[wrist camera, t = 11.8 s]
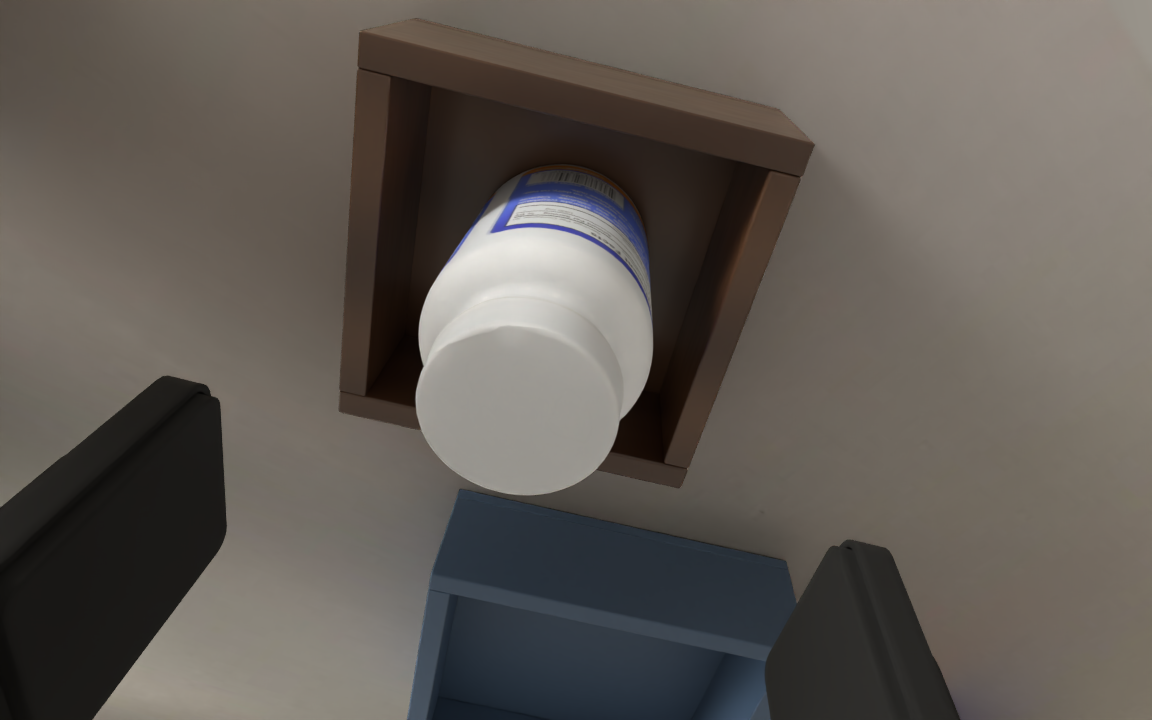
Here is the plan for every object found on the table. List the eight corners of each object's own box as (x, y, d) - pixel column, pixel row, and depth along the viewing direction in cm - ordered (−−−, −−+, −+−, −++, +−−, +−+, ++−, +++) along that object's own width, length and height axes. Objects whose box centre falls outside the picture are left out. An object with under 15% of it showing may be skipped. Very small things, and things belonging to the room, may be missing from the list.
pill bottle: (544, 350, 24) (493, 562, 15) (442, 222, 22) (317, 385, 13) (682, 267, 22) (711, 458, 13) (584, 120, 20) (545, 234, 11)
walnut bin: (414, 17, 19) (358, 30, 15) (780, 109, 20) (816, 144, 16) (384, 342, 25) (337, 412, 21) (673, 408, 25) (680, 490, 21)
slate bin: (459, 488, 28) (430, 573, 24) (786, 560, 28) (810, 656, 24) (423, 693, 34) (395, 786, 30) (687, 748, 35) (694, 846, 31)
